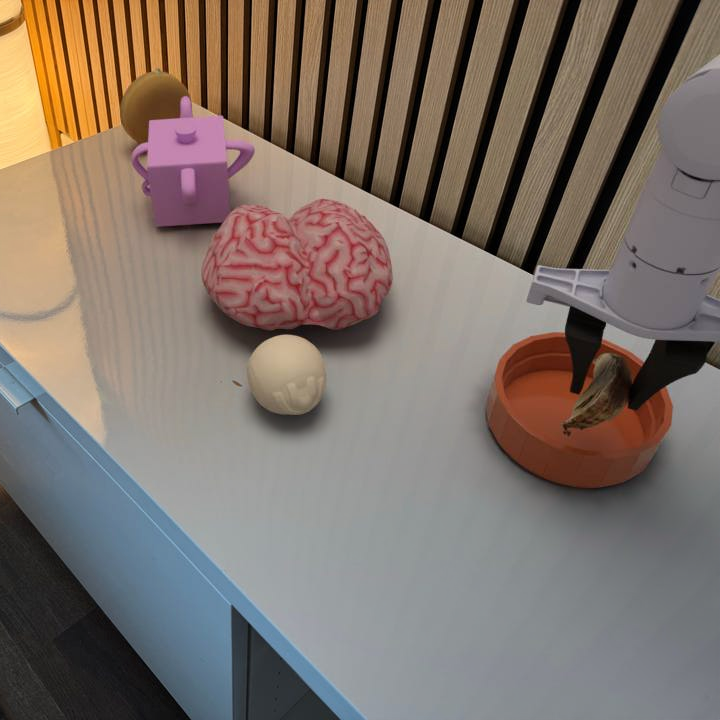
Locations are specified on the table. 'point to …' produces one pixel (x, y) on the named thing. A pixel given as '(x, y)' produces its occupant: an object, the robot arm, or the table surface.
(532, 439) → the bowl
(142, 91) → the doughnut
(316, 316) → the brain
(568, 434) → the oyster shell
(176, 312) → the table surface
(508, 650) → the table surface
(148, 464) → the table surface
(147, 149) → the teapot
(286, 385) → the cream ball
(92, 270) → the table surface
